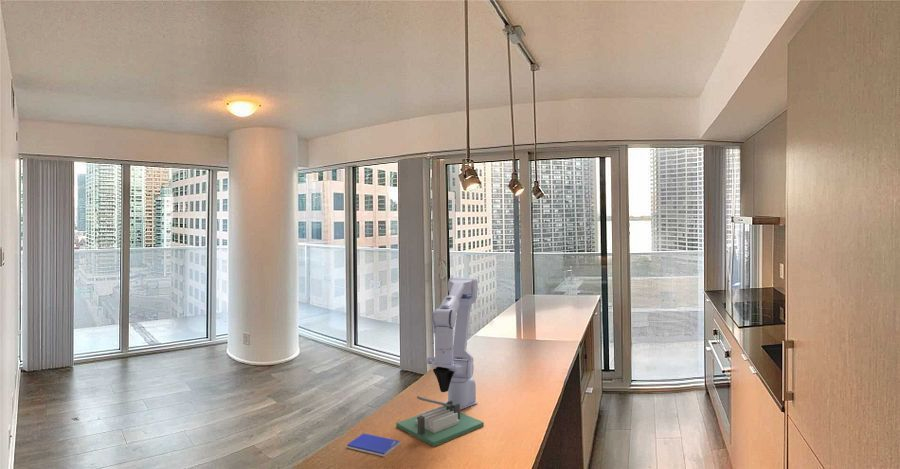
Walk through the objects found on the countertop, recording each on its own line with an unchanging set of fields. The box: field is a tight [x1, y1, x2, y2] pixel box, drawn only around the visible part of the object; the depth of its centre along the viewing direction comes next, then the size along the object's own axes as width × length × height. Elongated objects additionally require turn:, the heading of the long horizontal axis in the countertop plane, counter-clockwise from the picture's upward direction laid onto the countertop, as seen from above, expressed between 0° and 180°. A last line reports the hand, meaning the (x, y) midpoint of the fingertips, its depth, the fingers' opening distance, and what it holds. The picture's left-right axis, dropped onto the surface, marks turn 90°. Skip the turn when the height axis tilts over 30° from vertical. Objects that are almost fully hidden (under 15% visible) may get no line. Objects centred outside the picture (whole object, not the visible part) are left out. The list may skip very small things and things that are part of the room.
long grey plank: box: [416, 395, 454, 408], centre depth 146 cm, size 15×2×1 cm, turn 132°
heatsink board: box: [395, 401, 485, 447], centre depth 147 cm, size 20×18×6 cm
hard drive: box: [346, 433, 401, 457], centre depth 134 cm, size 2×8×12 cm
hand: (444, 391), depth 148 cm, fingers closed
